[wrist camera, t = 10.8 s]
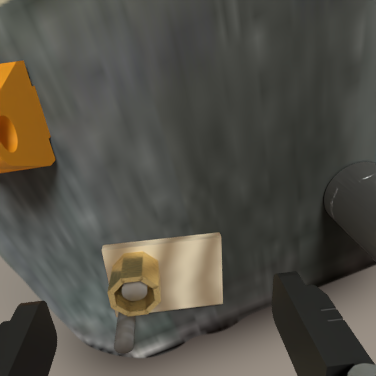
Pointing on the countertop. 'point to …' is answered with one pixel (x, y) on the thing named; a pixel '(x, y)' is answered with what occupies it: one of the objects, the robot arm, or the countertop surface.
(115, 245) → the maple board
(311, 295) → the robot arm
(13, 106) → the bracket
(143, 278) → the brass collar
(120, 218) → the countertop surface
